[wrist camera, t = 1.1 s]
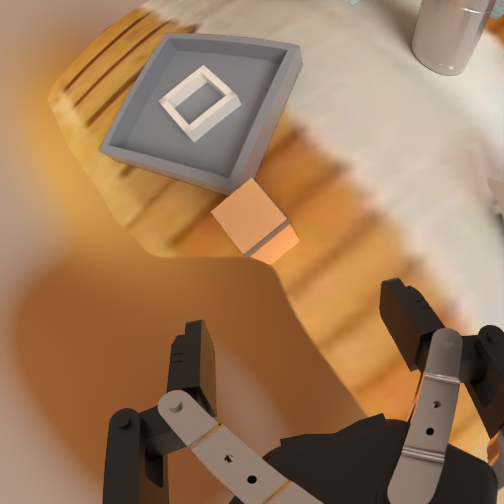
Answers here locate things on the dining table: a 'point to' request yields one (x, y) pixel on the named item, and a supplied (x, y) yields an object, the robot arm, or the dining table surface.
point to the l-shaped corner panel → (351, 1)
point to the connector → (255, 223)
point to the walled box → (205, 109)
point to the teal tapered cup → (498, 9)
